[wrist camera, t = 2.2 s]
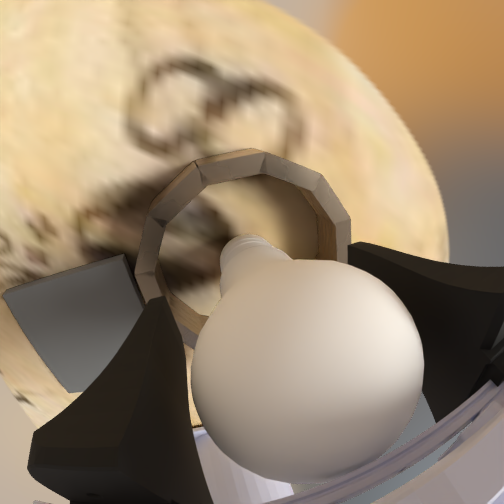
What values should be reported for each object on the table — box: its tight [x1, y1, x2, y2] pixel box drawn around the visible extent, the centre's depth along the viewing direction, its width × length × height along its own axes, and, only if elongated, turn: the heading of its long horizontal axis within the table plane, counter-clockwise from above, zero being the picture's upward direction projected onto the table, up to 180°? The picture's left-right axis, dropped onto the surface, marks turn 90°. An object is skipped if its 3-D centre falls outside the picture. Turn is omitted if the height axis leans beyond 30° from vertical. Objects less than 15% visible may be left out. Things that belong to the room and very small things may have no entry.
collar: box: [134, 148, 351, 349], centre depth 13 cm, size 10×10×2 cm
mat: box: [2, 254, 145, 393], centre depth 13 cm, size 8×8×1 cm
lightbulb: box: [191, 234, 424, 484], centre depth 9 cm, size 6×6×11 cm
